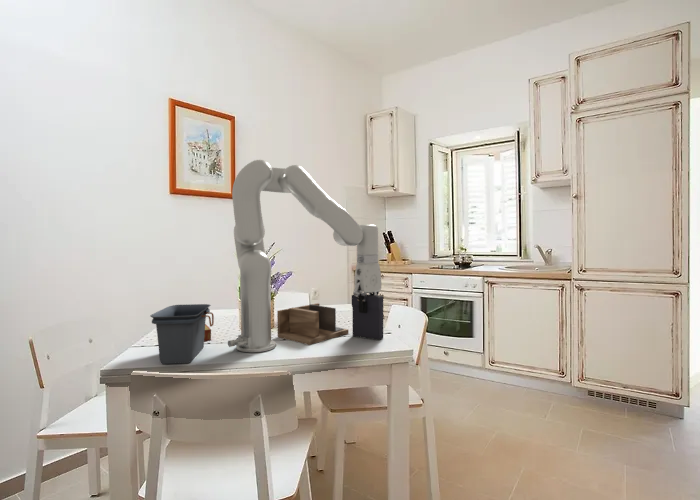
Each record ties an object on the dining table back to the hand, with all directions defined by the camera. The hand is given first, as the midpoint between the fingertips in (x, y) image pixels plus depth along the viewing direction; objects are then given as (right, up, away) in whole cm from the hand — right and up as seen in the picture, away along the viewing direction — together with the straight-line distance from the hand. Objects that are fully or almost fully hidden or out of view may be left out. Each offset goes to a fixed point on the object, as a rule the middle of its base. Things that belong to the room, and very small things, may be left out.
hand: (367, 311), depth 147 cm
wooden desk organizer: (-19, -9, +4) cm, 22 cm away
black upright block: (0, -10, 0) cm, 10 cm away
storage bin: (-56, -11, -20) cm, 60 cm away
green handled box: (-62, -10, +3) cm, 63 cm away
